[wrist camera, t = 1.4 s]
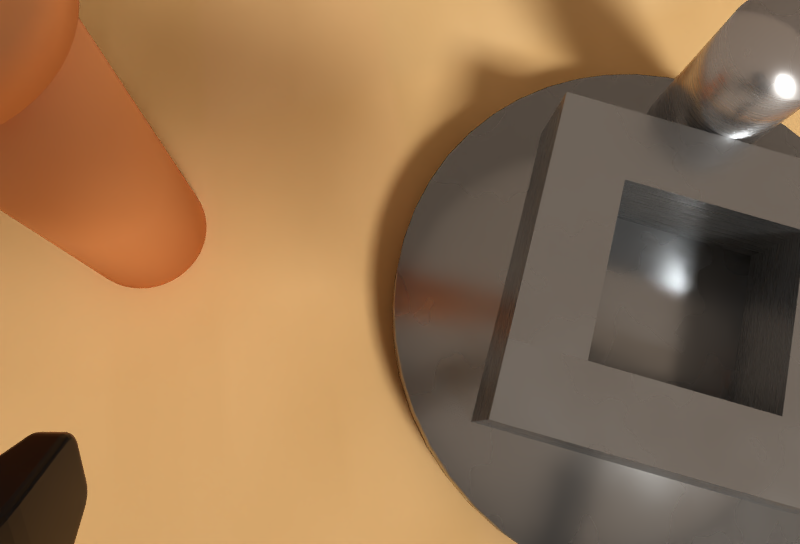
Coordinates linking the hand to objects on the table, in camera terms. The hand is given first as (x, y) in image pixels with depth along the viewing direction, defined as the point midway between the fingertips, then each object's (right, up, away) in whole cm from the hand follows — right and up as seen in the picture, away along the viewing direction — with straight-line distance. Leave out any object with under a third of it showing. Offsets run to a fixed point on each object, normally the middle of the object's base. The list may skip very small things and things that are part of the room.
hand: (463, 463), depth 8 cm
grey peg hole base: (+7, +1, +15) cm, 17 cm away
